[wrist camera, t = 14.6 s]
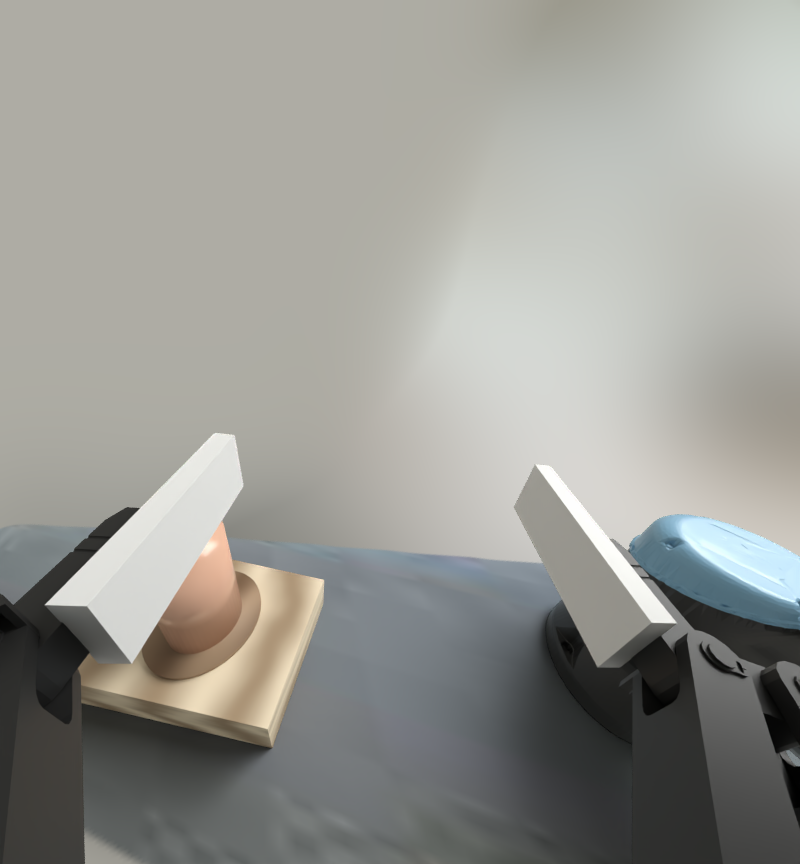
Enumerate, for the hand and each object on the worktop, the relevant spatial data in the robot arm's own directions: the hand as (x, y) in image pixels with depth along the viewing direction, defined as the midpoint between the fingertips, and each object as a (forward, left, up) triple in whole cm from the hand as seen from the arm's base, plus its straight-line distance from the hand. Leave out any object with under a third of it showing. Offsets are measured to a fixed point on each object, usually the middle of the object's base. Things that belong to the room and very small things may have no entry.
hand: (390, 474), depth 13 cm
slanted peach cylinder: (+14, +8, -26) cm, 30 cm away
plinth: (+14, +8, -32) cm, 35 cm away
